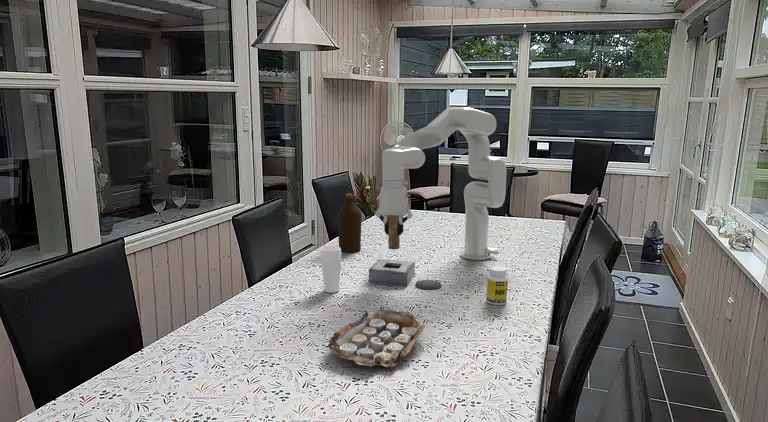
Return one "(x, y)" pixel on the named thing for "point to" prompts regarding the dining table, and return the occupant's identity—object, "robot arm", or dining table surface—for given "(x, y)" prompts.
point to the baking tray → (377, 338)
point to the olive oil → (349, 226)
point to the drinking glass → (331, 268)
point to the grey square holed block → (392, 272)
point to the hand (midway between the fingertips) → (393, 233)
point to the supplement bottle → (497, 285)
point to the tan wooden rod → (393, 232)
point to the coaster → (428, 284)
